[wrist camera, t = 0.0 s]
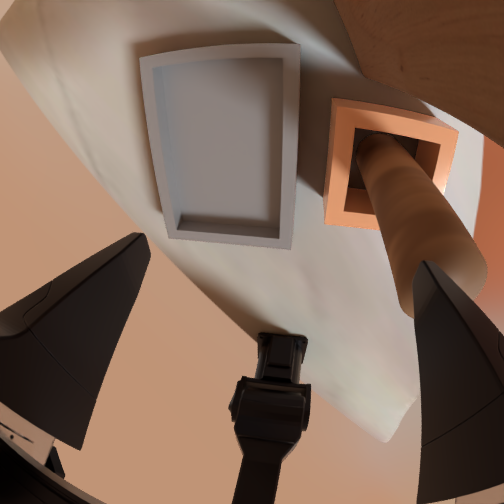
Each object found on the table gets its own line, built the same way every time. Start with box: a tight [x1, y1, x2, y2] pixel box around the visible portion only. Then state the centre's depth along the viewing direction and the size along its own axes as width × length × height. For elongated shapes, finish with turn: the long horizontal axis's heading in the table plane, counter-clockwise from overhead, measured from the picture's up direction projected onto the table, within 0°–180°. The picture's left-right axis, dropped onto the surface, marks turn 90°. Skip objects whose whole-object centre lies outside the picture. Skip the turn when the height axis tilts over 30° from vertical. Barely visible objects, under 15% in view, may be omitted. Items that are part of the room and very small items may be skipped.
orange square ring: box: [323, 98, 459, 230], centre depth 18 cm, size 8×8×4 cm
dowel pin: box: [356, 133, 487, 318], centre depth 14 cm, size 4×4×14 cm
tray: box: [139, 43, 300, 250], centre depth 21 cm, size 16×11×2 cm
